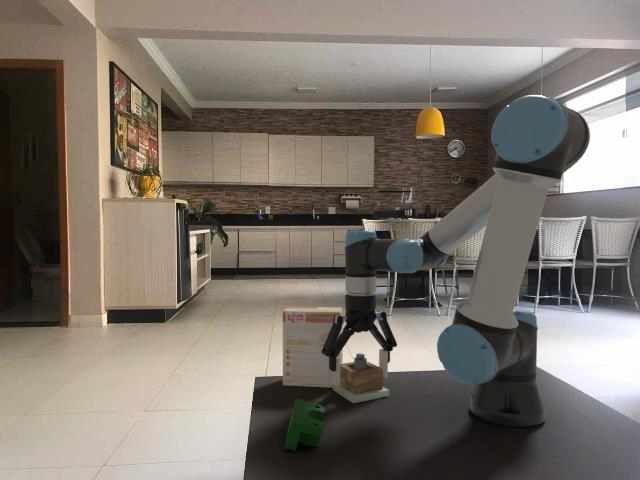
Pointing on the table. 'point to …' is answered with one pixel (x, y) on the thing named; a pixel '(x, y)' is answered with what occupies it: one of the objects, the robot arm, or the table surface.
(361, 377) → the collar
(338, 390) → the sage green base plate
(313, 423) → the clamp
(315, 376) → the coffeecake box
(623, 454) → the table surface
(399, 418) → the table surface
